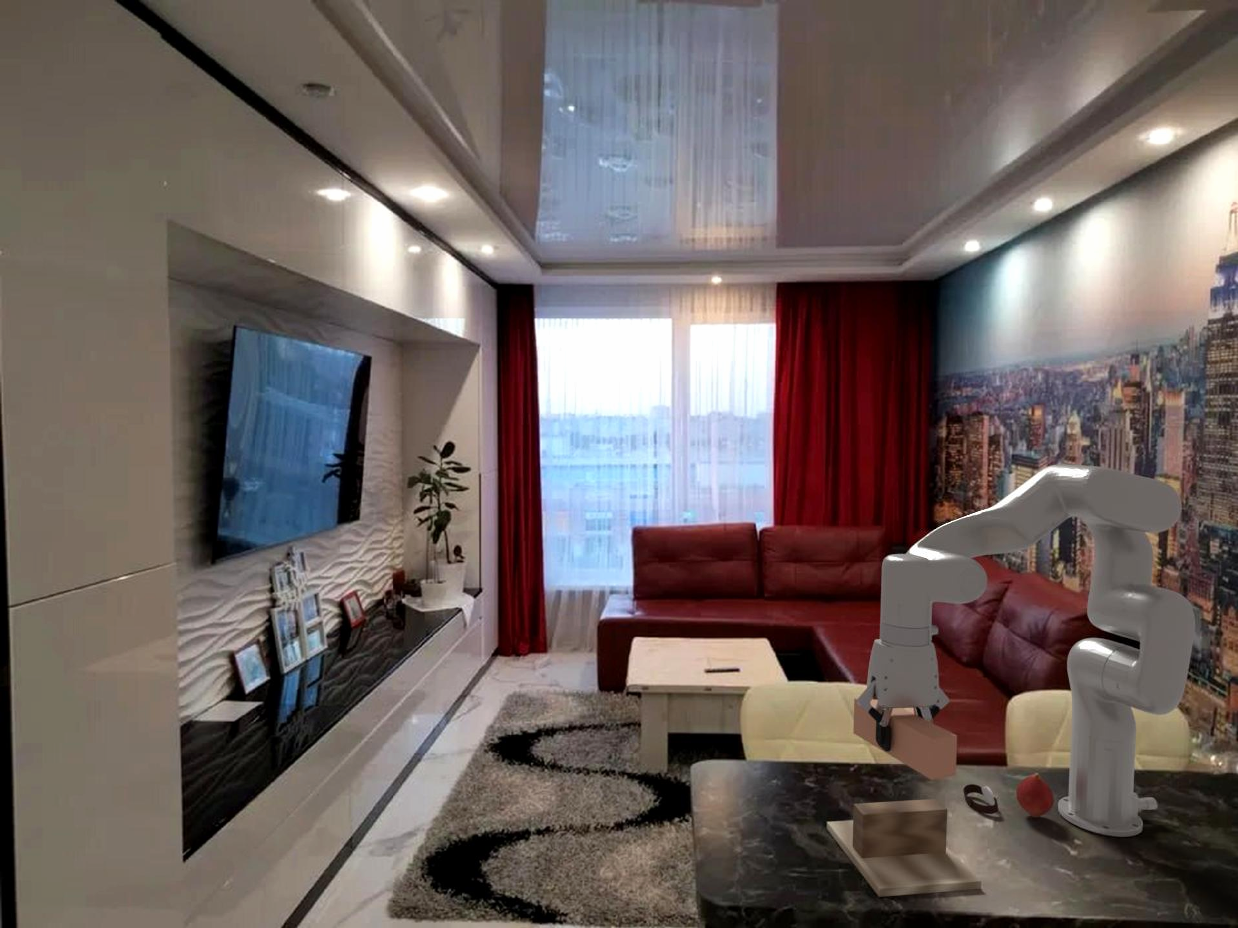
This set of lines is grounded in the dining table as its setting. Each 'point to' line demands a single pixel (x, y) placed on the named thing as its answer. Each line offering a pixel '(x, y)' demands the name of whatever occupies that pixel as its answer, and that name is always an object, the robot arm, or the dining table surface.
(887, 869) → the stand
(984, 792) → the watch
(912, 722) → the beam
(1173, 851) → the dining table surface
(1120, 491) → the robot arm
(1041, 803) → the onion
